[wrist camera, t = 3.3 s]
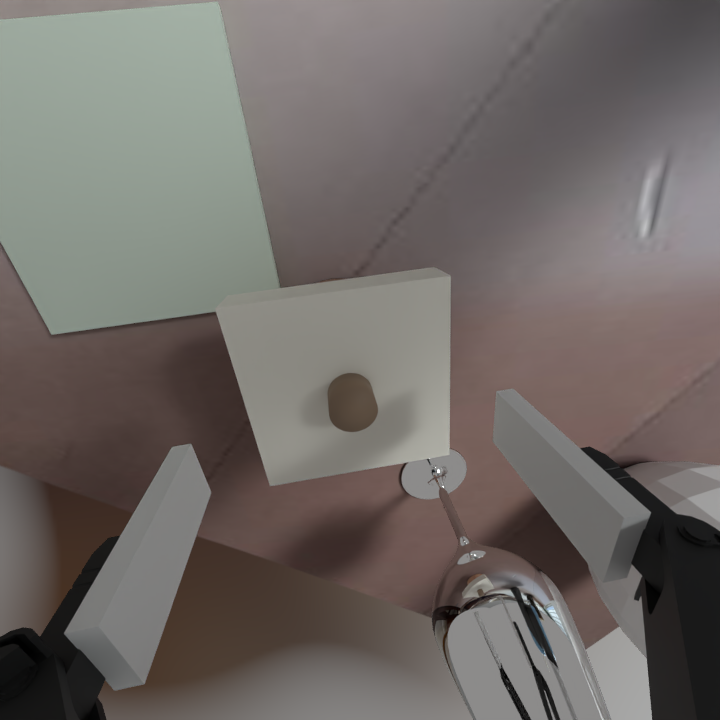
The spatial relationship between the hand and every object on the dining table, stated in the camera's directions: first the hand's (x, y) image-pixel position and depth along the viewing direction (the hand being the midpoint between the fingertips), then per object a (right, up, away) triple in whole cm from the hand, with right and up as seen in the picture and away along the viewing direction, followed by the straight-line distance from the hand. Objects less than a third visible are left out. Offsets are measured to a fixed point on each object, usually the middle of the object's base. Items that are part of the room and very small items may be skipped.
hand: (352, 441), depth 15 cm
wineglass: (+7, -7, +18) cm, 20 cm away
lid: (0, +3, +5) cm, 6 cm away
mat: (-13, +13, +5) cm, 19 cm away
